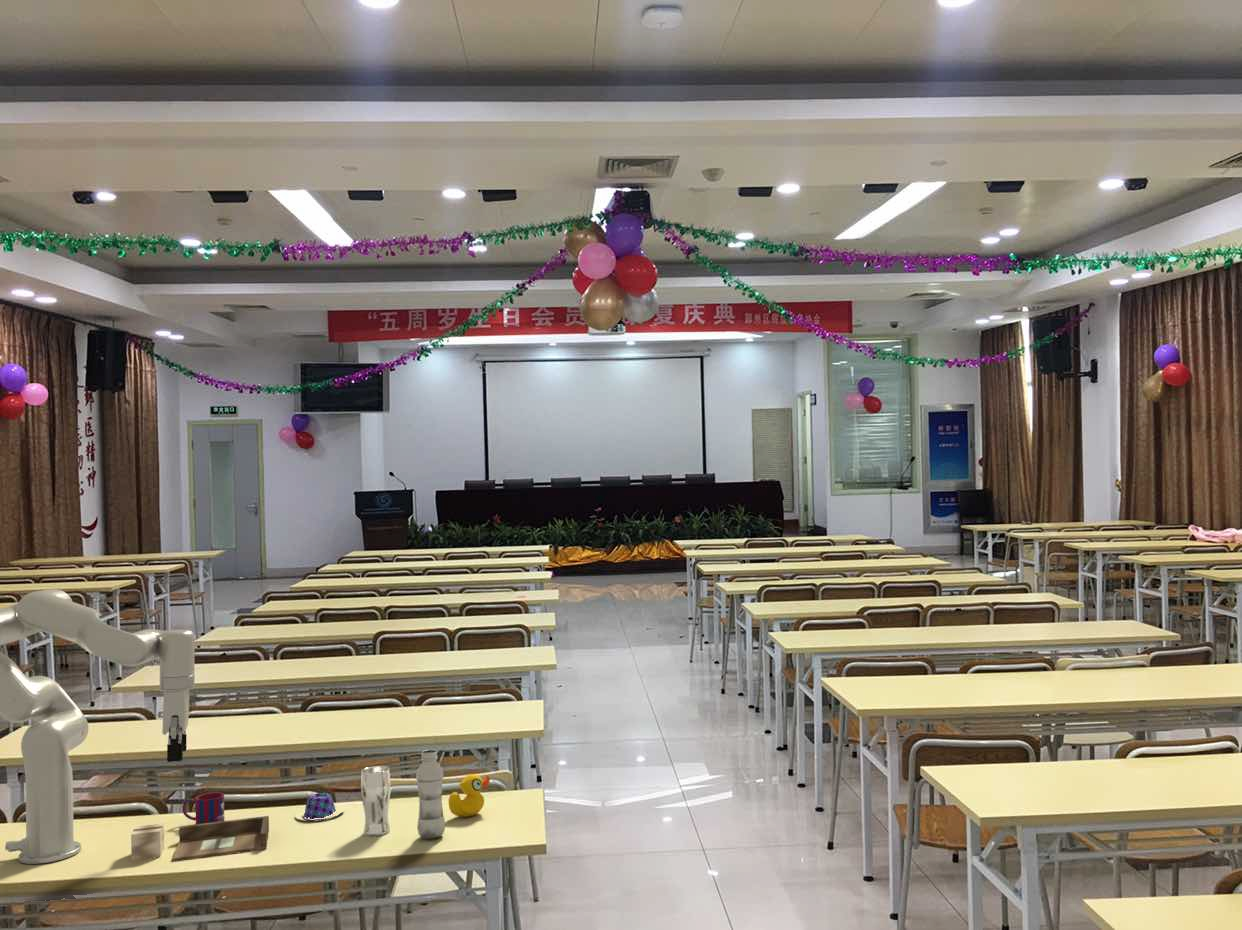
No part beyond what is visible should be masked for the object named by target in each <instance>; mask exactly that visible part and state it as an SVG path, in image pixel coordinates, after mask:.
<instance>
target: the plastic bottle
mask: <svg viewBox="0 0 1242 930" xmlns="http://www.w3.org/2000/svg"><path fill="white" fill-rule="evenodd" d="M420 760H421V764H420V765H419V768H418V769H417V770H416V774H415V779H416V780H415V781H416V784H417V785H416V786H417V790H418V791H417V792H418V801H419V803H418V804H419V806H418V819H417V828H416V829H417V832H418V833H417V834H418V836H419V837H420V838H422V839H426V840H427V839H428V840H429V839H430V840H431V839H436V838H439V837H442V836H443V834H444V833H445V829H446V820H445V816H444V809H443V803H442V801H443V797H442V796H443V782H444V770H443V769H442V767H441V765H440V763H439V762H438V761H437V760H438V750H436V749H427V750H426V749H425V750H423V751H421V759H420Z"/></svg>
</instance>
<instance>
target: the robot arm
mask: <svg viewBox="0 0 1242 930" xmlns="http://www.w3.org/2000/svg"><path fill="white" fill-rule="evenodd" d="M39 632H43V633H46V634H49V635H52V636H55V637H57V638H60V639H63V640H66V641H69V642H71V643H72V642H73V643H74V644H76V645H78V646H79V647H80V648H82V649H83V650H85V651H86V652H88V653H90V654H91V655H93V656H96V657H98V658H101V659H103V660H106V661H109V662H111V663H115V664H118V665H121V666H125V667H138V666H141V665H143V664H145V663H149V662H152V661H155V660H159V692H162V693H163V702H162V703H163V704H162V705H163V706H162V731H161V732H162V734H163V736H166V735H167V734H168V736H167V738H168V740H167V744H166V746H167V747H166V751H167V752H166V753H167V754H166V756H167V757H166V760H167V762H168V763H174V762H175V763H176V762H182V761H183V757H184V756H183V755H184V754H183V752H186V751H187V733H186V732H187V729H188V725H189V717H190V715H189V712H190V690H193V689H195V634H194V631H192V630H189V629H171V630H162V629H155V628H154V629H153V628H147V629H142V630H139V631H135V632H129V631H126V630H122V629H119V628H116V627H114V626H111V625H109V624H107V623H105V622H104V621H103V620H101V619H100V618H99V613H98V611H97V609H94V608H92V607H89V606H85V605H84V604H83V605H82V604H80V603H77V602H74V601H73V599H72V598H71V596H70V595H69V594H68V593H67V592H65V591H63V590H61V589H59V588H58V589H57V588H47V589H43V590H36V591H31V592H29V593H27V594H26V595H24V596H23V597H22V598H21V599H20V600H19V601H18V602H17V603H15V604H12V605H10V606H7V607H3V608H0V646H2V645H3V646H4V645H6V644H10V643H14V642H17V641H20V640H22V639H24V638H27V637H29V636H32V635H34V634H37V633H39ZM0 715H1V716H2V717H3V718H4V719H5V720H7V722H10V723H13V724H21V723H25V722H27V721H31V720H32V719H33V721H34V723H32V724H31V725H30V726H29V727H28V728H27V729H26V730H25V731H24V734H23V735H22V738H21V743H20V746H21V747H20V748H21V749H20V750H21V755H22V760H23V764H24V765H23V766H24V775H25V777H24V778H25V828H26V829H25V833H26V834H25V835H26V836H25V838H21V840H9V841H6V842H5V851H8V853H13V852H17V851H19V852H20V853H19V854H18V861H19V863H22V864H27V865H38V864H39V865H40V864H46V863H53V862H58V861H61V860H64V859H67V858H70V857H73V856H75V855H76V854H79V853H80V851H81V850H82V844H81V843H80V842H78V841H75V840H74V781H73V780H74V779H73V776H74V775H73V768H72V763H71V760H70V756H69V751H71V750H73V749H76V748H77V747H78V746H80V745H81V744H83V743H84V741H85V740H86V739H87V736H88V735H89V722H88V720H87V718H86V716H85V714H84V713H83V712H82V710H81V709H80V708H79V706H78V705H76V703H75V702H74V700H72V698H71V697H70V696H69V695H68V694H67V692H66V691H65V690H64V689H63V688H62V686H61V685H60V684H59V683H58V682H57V681H56V680H54V679H52V678H50V677H48V676H44V675H35V676H34V675H33V676H30V677H28V676H27V675H26V674H24V673H23V672H22V670H21V669H20V668H19V666H18V665H17V664H16V663H15V661H13V659H11V658H10V657H9V656H7V655H6V654H5V653H3V652H2V651H0Z"/></svg>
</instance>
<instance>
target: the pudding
mask: <svg viewBox="0 0 1242 930" xmlns="http://www.w3.org/2000/svg"><path fill="white" fill-rule="evenodd" d="M305 804H306V806H305V808H304V810H305V813H304V816H303V818H304V817H306V818H308V817H309V818H310V819H314V818H324V817H326V816H329V815H331V814H333V812H335V811H336V809H335V807H336V806H335V803H334V799H333V797H332V794H330V793H328V792H319V793H314V794H311V795H309V796H308V797H307V799H306V803H305ZM298 813H299V812H297V813H296V814H295V817H294V818H295V819H297V820H300V819H298V818H297V817H296V815H297V814H298ZM306 820H307V819H305V820H302V821H304V822H305V821H306ZM324 820H325V819H324ZM324 820H323V821H324ZM328 820H330V818H329V819H328ZM300 821H301V820H300ZM317 821H318V822H320V821H319V820H315V821H314V822H317ZM325 821H326V820H325ZM306 822H307V821H306Z"/></svg>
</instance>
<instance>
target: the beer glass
mask: <svg viewBox="0 0 1242 930" xmlns="http://www.w3.org/2000/svg"><path fill="white" fill-rule="evenodd" d="M360 779H361V780H360V794H361V801H362V807H363V811H364V821H365V822H364V828H363V835H365V836H367V837H380V836H384V834H385V835H387V834H388V833H390V830H391V828H390V824H389V808H390V807H389V806H390V800H391V799H390V797H391V790H392V789H391V785H392V784H391V783H392V782H391V774H390V767H388V766H385V765H375V766H369V767H365V768H363V769H361V776H360ZM386 833H387V834H386Z"/></svg>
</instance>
